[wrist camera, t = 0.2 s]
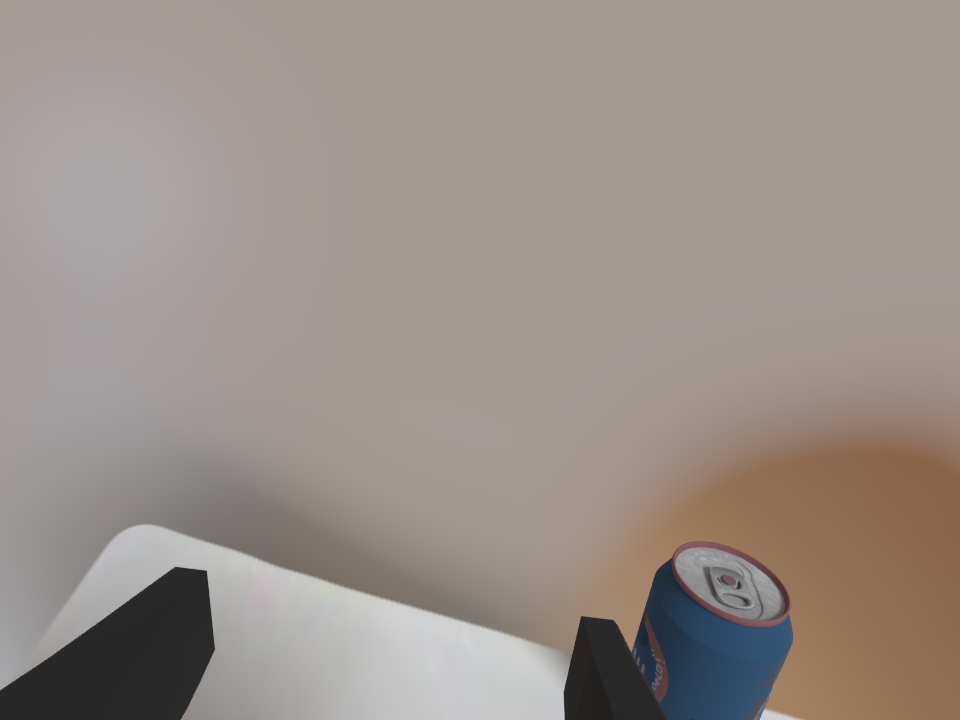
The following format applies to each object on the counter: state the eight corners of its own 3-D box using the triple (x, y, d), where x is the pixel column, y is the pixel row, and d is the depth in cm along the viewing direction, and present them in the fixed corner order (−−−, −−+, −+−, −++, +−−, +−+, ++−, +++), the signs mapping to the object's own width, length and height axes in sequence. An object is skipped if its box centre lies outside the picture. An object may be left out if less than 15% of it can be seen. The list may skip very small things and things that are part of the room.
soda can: (609, 673, 35) (652, 523, 31) (717, 699, 34) (775, 548, 30) (618, 784, 29) (673, 613, 25) (750, 819, 28) (830, 648, 24)
